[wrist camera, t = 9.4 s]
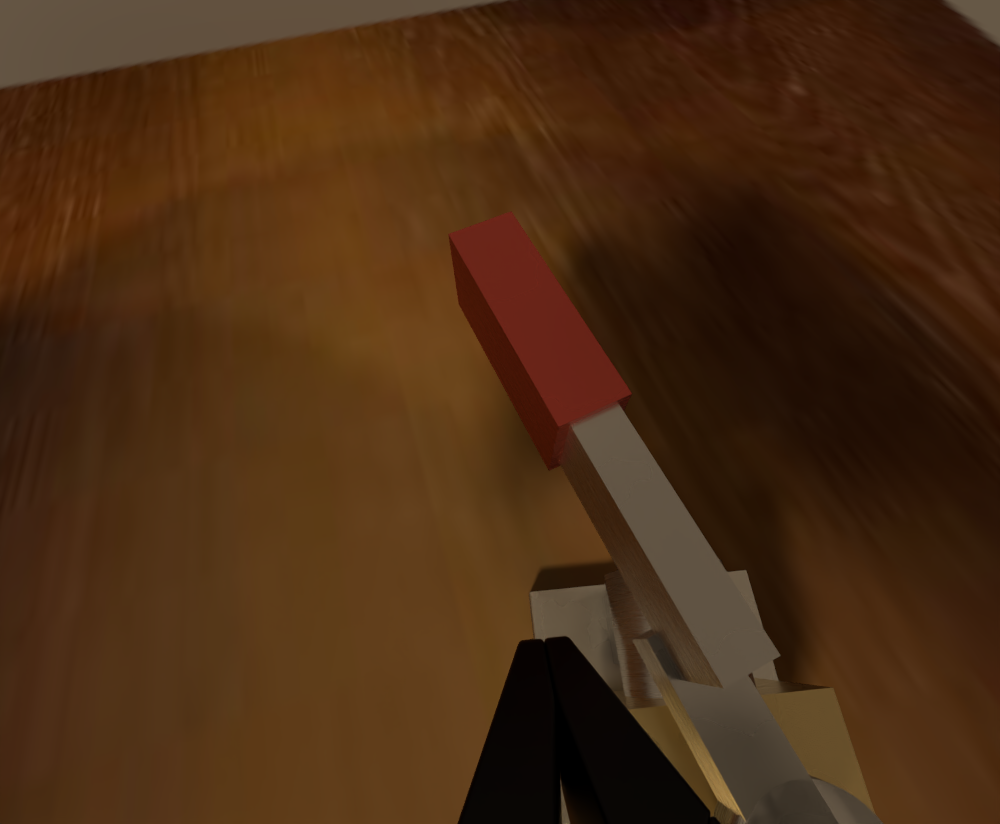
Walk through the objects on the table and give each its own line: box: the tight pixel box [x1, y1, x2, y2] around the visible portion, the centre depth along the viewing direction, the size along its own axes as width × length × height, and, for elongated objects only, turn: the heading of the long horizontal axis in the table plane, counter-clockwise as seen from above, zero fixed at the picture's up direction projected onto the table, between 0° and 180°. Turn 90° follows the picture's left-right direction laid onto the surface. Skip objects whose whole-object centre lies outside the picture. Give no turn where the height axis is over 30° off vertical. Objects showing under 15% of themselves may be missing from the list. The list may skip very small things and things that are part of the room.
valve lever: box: [448, 212, 883, 824], centre depth 12 cm, size 3×17×4 cm, turn 25°
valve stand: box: [529, 559, 875, 824], centre depth 15 cm, size 13×9×9 cm
